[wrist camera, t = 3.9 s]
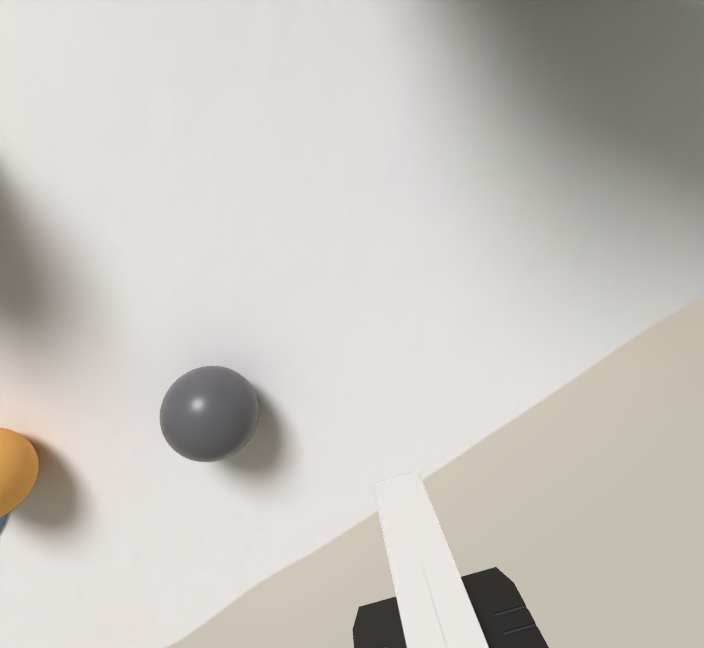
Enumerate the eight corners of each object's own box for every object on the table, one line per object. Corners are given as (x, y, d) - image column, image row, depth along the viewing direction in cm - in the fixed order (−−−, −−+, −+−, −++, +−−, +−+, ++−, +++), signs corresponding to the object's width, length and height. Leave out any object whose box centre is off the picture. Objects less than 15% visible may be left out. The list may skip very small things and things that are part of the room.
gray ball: (165, 366, 26) (126, 405, 21) (249, 343, 26) (231, 377, 21) (195, 439, 28) (166, 493, 22) (274, 418, 28) (264, 467, 22)
